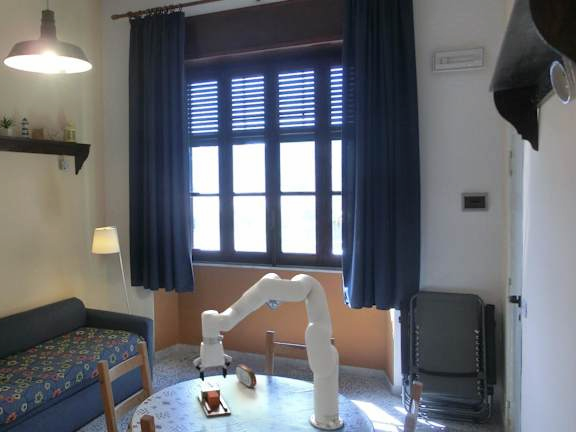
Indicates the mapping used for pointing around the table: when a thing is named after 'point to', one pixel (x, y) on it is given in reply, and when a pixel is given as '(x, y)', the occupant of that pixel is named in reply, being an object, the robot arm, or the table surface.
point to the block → (213, 398)
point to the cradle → (213, 410)
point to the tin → (246, 375)
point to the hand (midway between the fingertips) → (213, 378)
